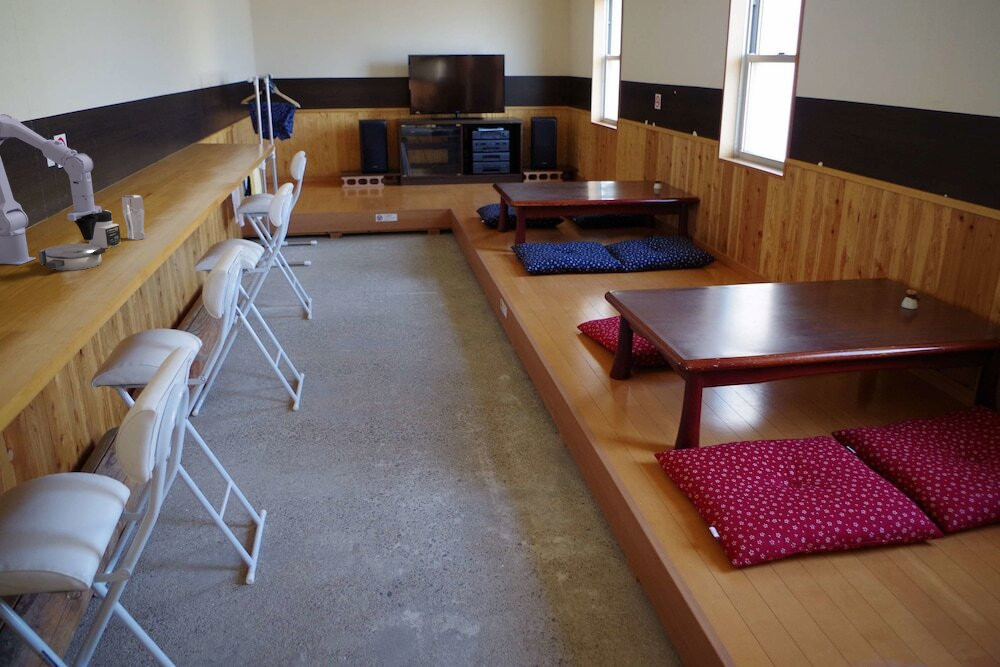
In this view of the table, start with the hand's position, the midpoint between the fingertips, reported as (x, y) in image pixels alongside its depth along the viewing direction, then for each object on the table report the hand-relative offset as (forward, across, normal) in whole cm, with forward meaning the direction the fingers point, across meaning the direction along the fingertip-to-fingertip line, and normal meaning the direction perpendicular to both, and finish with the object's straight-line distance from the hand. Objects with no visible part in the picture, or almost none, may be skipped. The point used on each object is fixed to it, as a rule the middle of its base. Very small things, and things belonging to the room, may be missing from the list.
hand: (88, 239), depth 242 cm
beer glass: (+8, +38, +6) cm, 39 cm away
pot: (+8, 0, +5) cm, 10 cm away
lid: (+4, 0, +5) cm, 7 cm away
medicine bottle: (+8, +25, +10) cm, 28 cm away
